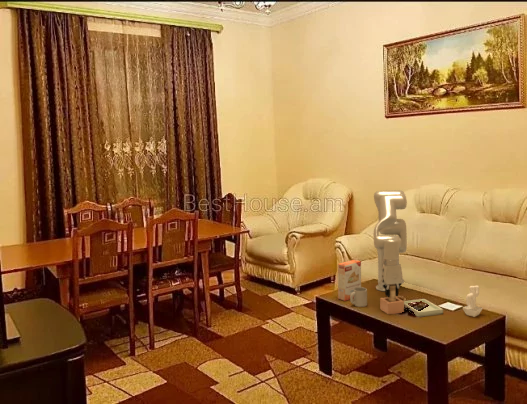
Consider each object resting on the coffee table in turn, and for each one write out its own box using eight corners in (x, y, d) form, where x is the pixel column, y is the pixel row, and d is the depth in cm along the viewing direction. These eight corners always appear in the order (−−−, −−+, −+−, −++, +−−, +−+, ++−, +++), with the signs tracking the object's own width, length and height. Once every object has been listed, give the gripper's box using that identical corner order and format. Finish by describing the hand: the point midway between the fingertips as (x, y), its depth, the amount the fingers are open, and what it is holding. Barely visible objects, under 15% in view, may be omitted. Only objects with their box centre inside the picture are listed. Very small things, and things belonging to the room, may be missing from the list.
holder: (380, 308, 274) (380, 298, 273) (395, 307, 276) (395, 296, 275) (388, 314, 265) (388, 303, 264) (403, 312, 267) (403, 301, 267)
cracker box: (345, 301, 288) (345, 265, 286) (337, 299, 293) (337, 263, 290) (361, 295, 297) (361, 260, 294) (354, 293, 302) (353, 259, 299)
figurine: (461, 315, 260) (461, 286, 258) (470, 310, 266) (471, 282, 264) (474, 318, 254) (474, 289, 252) (484, 314, 260) (484, 285, 258)
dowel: (386, 309, 272) (386, 284, 270) (393, 309, 273) (393, 283, 271) (390, 312, 268) (390, 286, 266) (397, 311, 269) (397, 285, 267)
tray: (401, 306, 277) (401, 301, 277) (424, 303, 280) (424, 298, 280) (418, 317, 260) (418, 312, 260) (443, 313, 263) (443, 309, 263)
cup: (369, 305, 280) (369, 290, 279) (353, 308, 276) (353, 292, 275) (362, 302, 286) (362, 286, 285) (346, 304, 283) (346, 289, 282)
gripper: (380, 265, 262) (380, 299, 264) (409, 262, 266) (409, 296, 268) (373, 261, 269) (374, 295, 271) (402, 258, 273) (402, 292, 275)
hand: (391, 295), depth 270 cm, fingers closed on dowel, 4 cm apart
